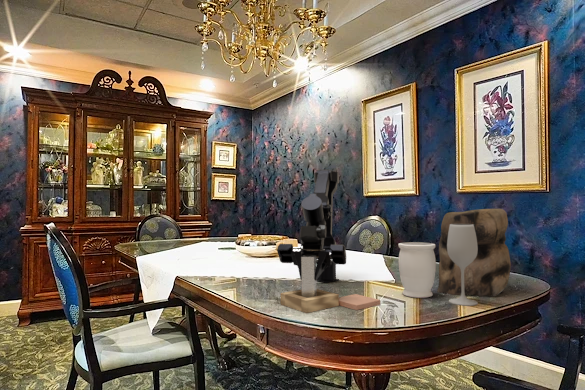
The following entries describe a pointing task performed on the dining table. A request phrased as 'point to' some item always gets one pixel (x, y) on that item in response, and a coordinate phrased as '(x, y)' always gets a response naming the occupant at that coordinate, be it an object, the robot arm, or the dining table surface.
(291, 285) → the dining table surface
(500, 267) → the brown mottled lumpy block
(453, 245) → the wineglass
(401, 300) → the dining table surface
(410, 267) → the jar
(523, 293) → the dining table surface
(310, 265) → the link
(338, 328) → the dining table surface
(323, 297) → the brown square tray
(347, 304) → the coaster
